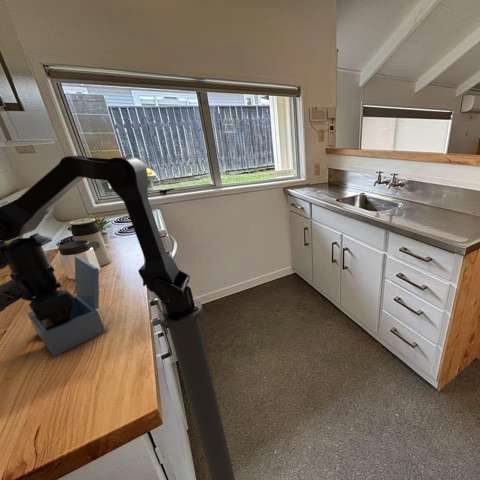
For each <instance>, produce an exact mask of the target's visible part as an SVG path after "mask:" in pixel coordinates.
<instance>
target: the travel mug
mask: <svg viewBox="0 0 480 480" xmlns="http://www.w3.org/2000/svg"><path fill="white" fill-rule="evenodd" d="M68 224H69V225H70V226H71V231H70V232H71V235H72V238H73V240H74V241H80V240H87V241H89V243H90V246H91V248H93V250H94V252H95V255H96V258H97V261H98V264H99V266H100V267H102V266H103V267H104V266H105V265H107V264H109V263H110V262H111V259H110V256H109V253H108V250H107V248H106V247H105V244H104V241H103V238H102V235H101V233H102V232H100V229H99V227H98V226H99V225H98V226H97V225H96V224H95V219H94V218H91V217H87V218H86V217H85V218H79V219H75V220H71V221H69V222H68Z"/></svg>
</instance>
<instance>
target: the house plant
mask: <svg viewBox="0 0 480 480" xmlns="http://www.w3.org/2000/svg"><path fill="white" fill-rule="evenodd" d="M101 215H102V213H99V215H98V216H97V217H96V216H95V214H92V213H89V218H94V219H95V224H96V225H97V226H98V227H99V229H100V232H101V235H102V238H103V241H104V244H108V243H110V236H109V232H106V229H108V228H113V227H114V225H113V223H111V222H114V221H116V219H112V220H108V219H109V218H110V216H109V215H110V214H106V215H104V216H103V218H101V220H100V216H101ZM107 216H108V217H107ZM99 220H100V221H99ZM107 220H108V221H107ZM109 223H111V224H109ZM110 244H111V243H110ZM110 244H109V245H108V246H105V247H106V249H108V248H110Z"/></svg>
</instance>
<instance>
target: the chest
mask: <svg viewBox="0 0 480 480" xmlns="http://www.w3.org/2000/svg"><path fill="white" fill-rule="evenodd" d="M73 297H74V300H75V303H74V305H73V306H72V310H71V313H70V318H71V321H68V322H66V323H63V324H61V325H59V326H56V327H54V328H52V329H49V330H46V329H45V328H44V327H43V325H42V324H41V321H43V320H45V319H48V318H46V317H42V318H38V317H36V316H35V314H34V313H33V312H32V311H30V312H27V313H26V315H27V316H28V319H29V320H30V322H31V324H32V326H33V328H34V330H35V332H36V334H37V336H38V337H39V339H40V340H41V341H42V343H43V344H44V345H45V347H46V348H47V350H48V351H49V352H50V353H51V355H52V356H53V357H56V356H59V355H60V354H63V353H65V352H66V351H69V350H70V349H72V348H75V347H77V346H79V345H81V344H83V343H85V342H87V341H89V340H91V339H93V338H95V337H97V336H99V335H102V334H103V333H106V329H105V328H104V325H103V322H102V319H101V317H100V314H99V311H98V309H93V308H92V307H91V306H90V305H89V304H87V303H86V302H85V301H84V300H83V299H81V298H80V297H79V296H78V295H77V294H75V295H73Z"/></svg>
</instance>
